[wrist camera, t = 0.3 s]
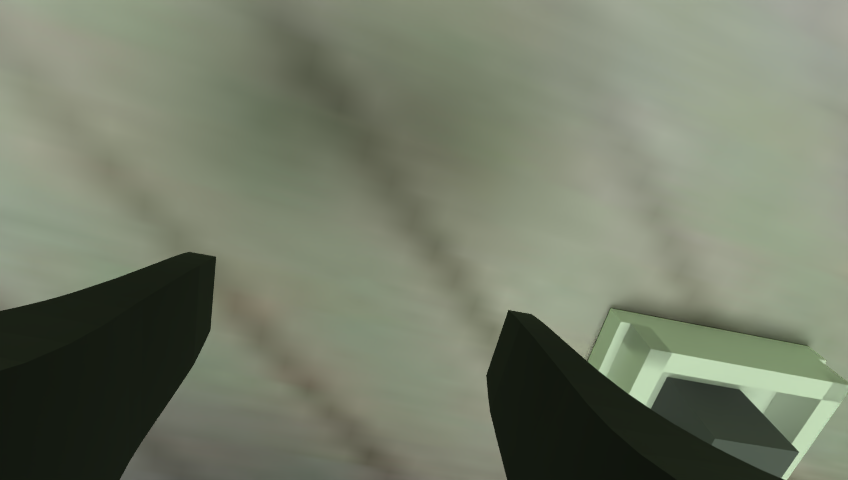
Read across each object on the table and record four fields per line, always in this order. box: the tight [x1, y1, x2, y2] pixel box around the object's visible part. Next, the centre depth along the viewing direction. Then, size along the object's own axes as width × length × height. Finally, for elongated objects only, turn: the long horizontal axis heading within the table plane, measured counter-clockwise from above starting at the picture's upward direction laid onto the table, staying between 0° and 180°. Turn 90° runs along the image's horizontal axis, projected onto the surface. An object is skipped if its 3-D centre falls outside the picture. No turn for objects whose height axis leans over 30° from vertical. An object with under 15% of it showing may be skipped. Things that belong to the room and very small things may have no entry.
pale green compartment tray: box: [588, 308, 848, 480], centre depth 26 cm, size 17×11×3 cm, turn 167°
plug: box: [651, 377, 799, 478], centre depth 23 cm, size 4×4×5 cm
